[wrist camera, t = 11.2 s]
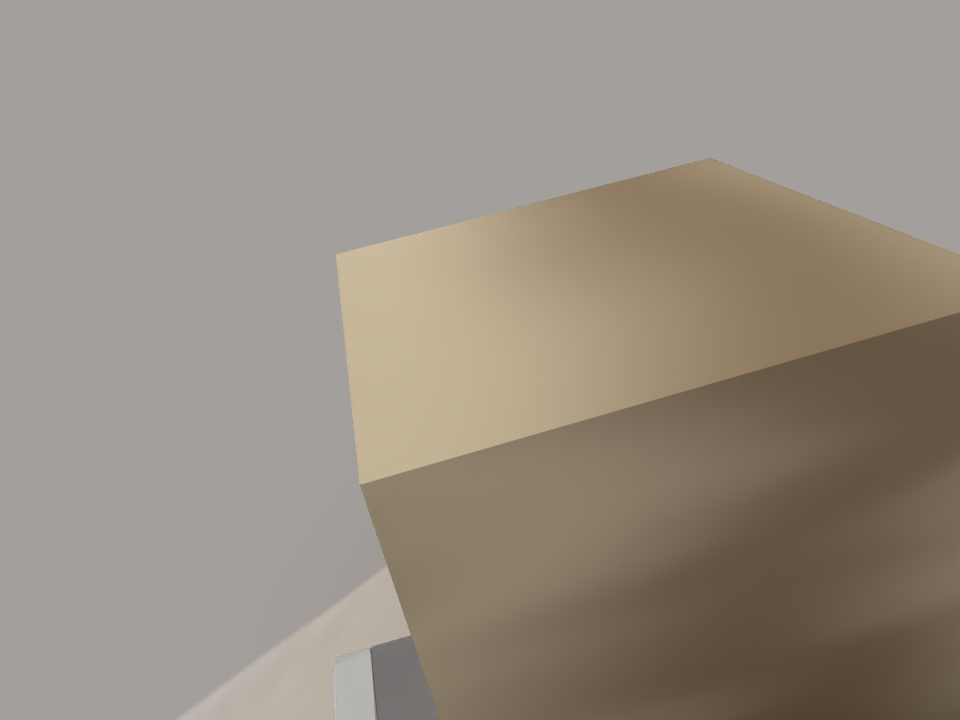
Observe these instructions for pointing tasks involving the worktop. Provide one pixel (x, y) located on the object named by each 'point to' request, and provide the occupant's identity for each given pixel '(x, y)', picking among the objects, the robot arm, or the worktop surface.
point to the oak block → (666, 454)
